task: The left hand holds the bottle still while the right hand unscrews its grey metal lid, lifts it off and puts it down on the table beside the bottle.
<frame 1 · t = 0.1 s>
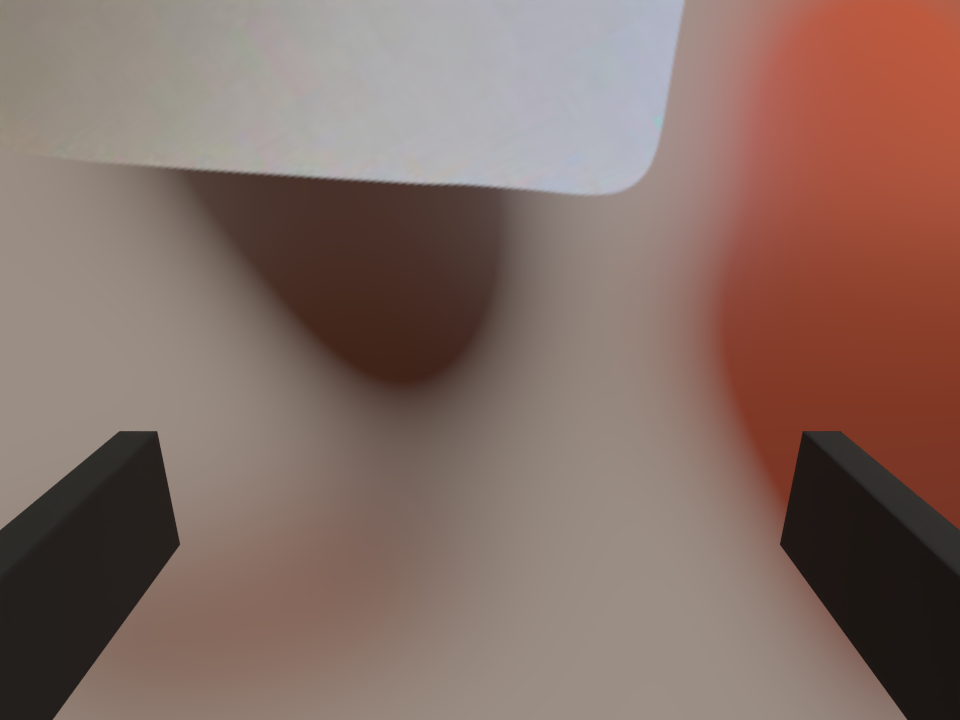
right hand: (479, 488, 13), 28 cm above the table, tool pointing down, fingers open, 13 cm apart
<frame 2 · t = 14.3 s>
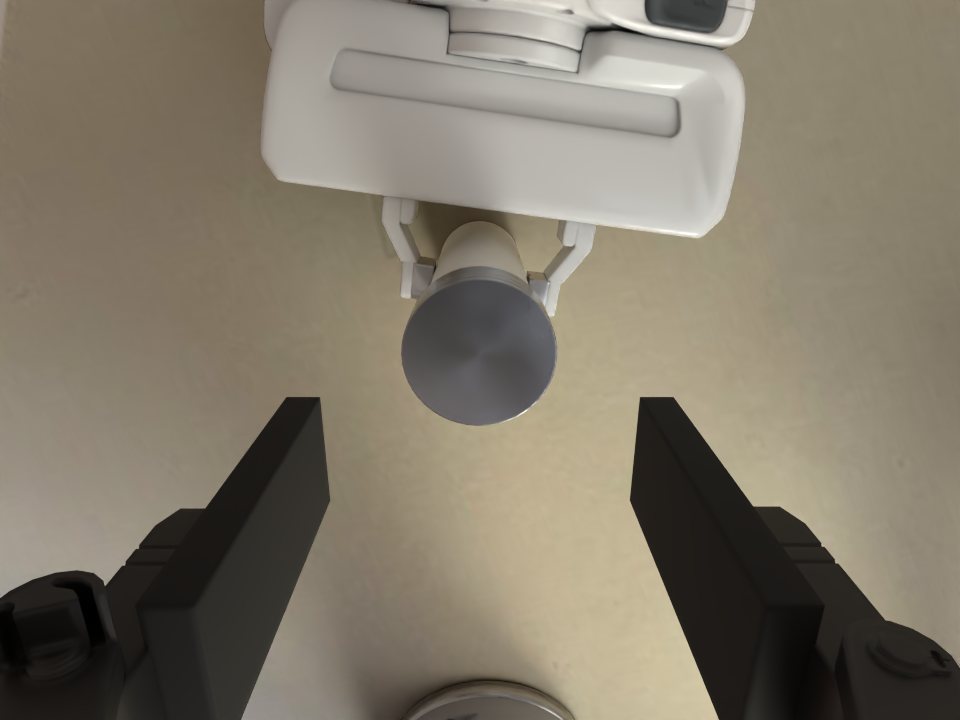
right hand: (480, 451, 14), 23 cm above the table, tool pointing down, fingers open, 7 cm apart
left hand: (478, 304, 30), fingers closed on bottle, 4 cm apart
bottle: (479, 260, 36), on the table, touching left hand
lid: (479, 352, 21), point 16 cm above the table, screwed on, not yet turned
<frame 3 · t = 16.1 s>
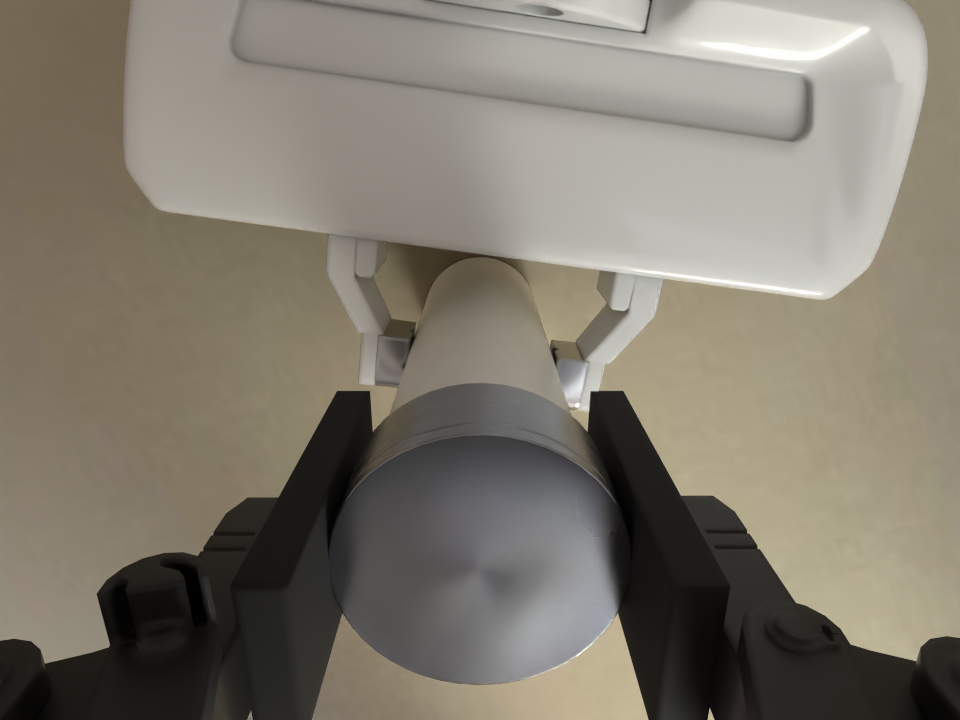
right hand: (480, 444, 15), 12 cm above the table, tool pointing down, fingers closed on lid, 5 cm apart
left hand: (477, 392, 20), fingers closed on bottle, 4 cm apart
bottle: (480, 311, 26), on the table, touching left hand
lid: (480, 557, 11), point 16 cm above the table, screwed on, not yet turned, touching right hand
when the right hand's fingers open (12 cm above the table, at t = 17.4 s): lid stays where it is, point 16 cm above the table.
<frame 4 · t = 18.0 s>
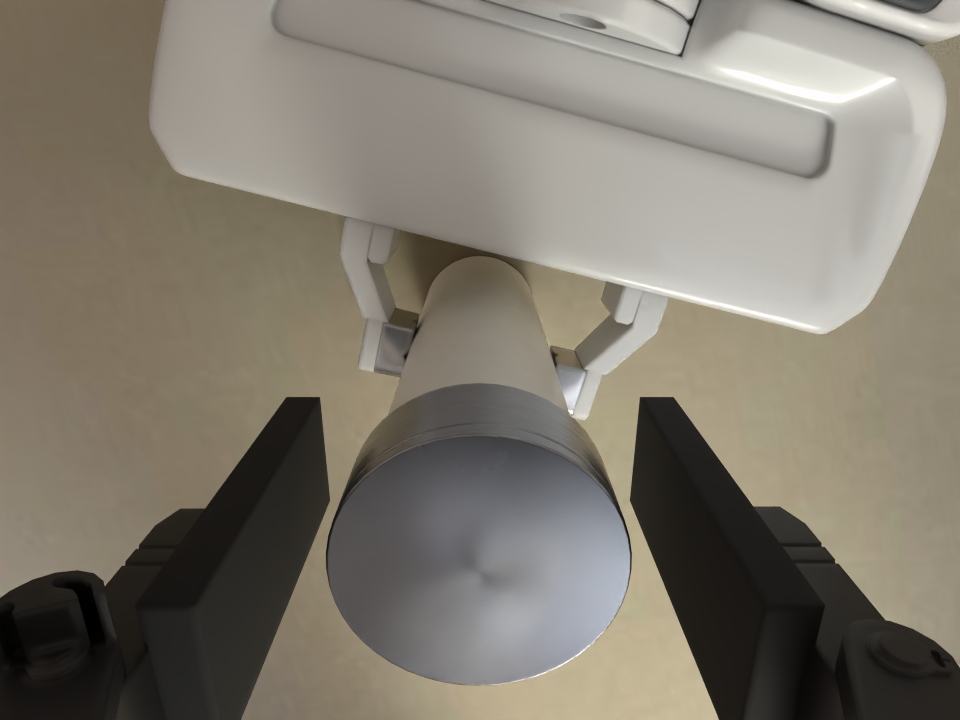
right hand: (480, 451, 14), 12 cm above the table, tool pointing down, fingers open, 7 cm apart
left hand: (474, 389, 20), fingers closed on bottle, 4 cm apart
bottle: (479, 309, 26), on the table, touching left hand
lid: (478, 557, 11), point 16 cm above the table, turned 68° so far, risen 0.2 cm, still on its thread
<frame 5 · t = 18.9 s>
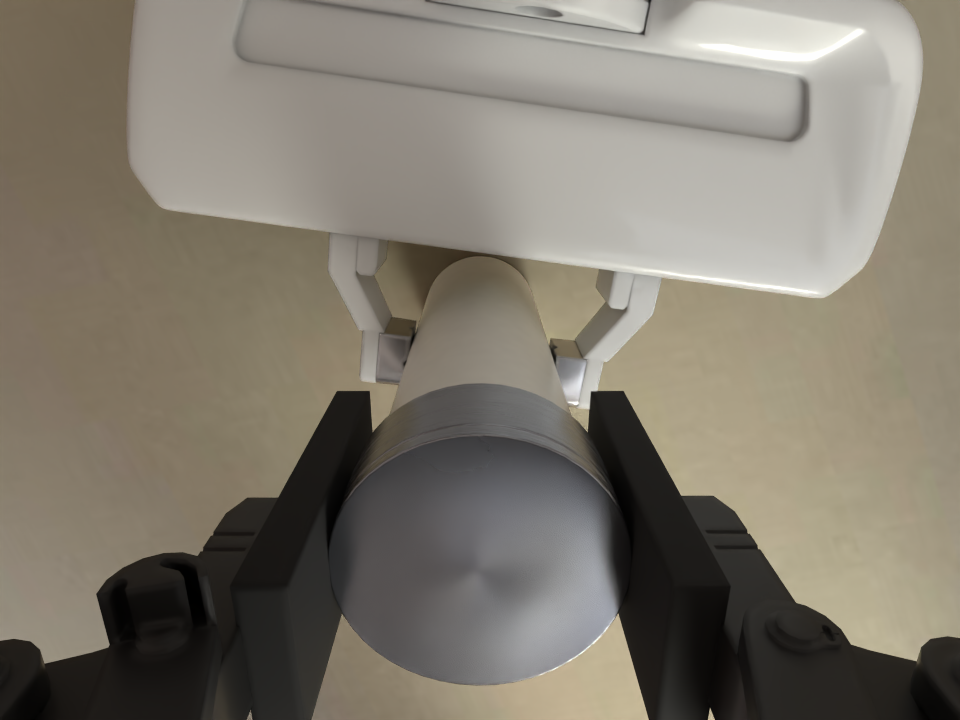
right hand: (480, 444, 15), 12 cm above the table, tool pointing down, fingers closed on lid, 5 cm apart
left hand: (477, 389, 20), fingers closed on bottle, 4 cm apart
bottle: (480, 309, 26), on the table, touching left hand
lid: (480, 557, 11), point 16 cm above the table, turned 68° so far, risen 0.2 cm, still on its thread, touching right hand
when the right hand's fingers open (0 cm above the table, at t = 24.9 s): lid drops 2 cm, point 2 cm above the table.
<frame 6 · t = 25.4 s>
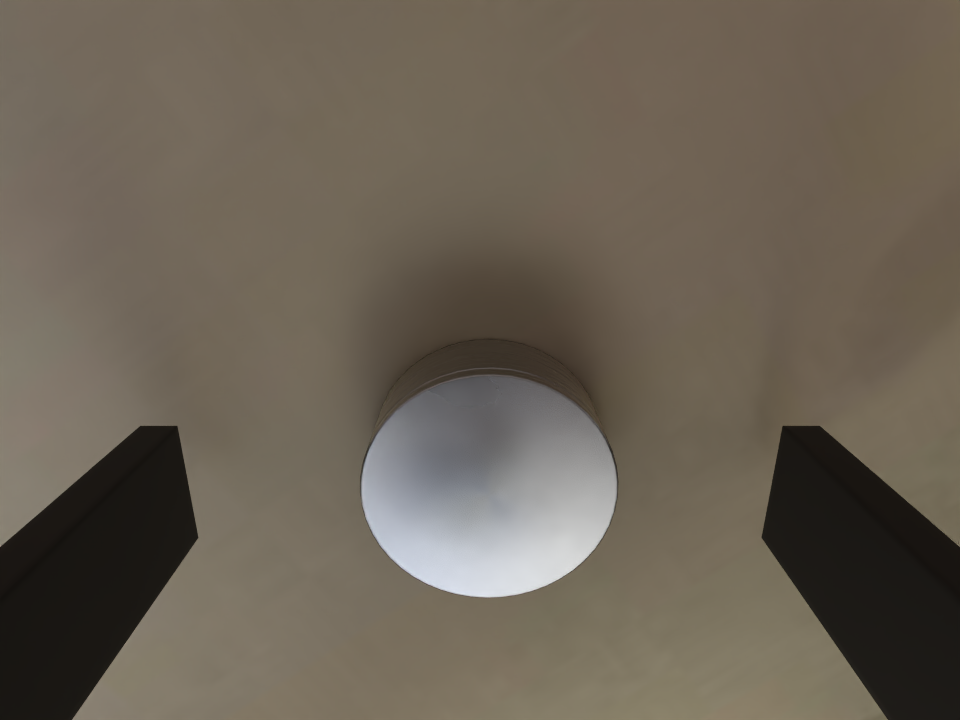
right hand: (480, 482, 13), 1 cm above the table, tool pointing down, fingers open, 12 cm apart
lid: (488, 485, 13), point 2 cm above the table, off its thread
when the left hand's fingers open (6 cm above the table, at t = 26.0 s): bottle stays where it is, on the table.
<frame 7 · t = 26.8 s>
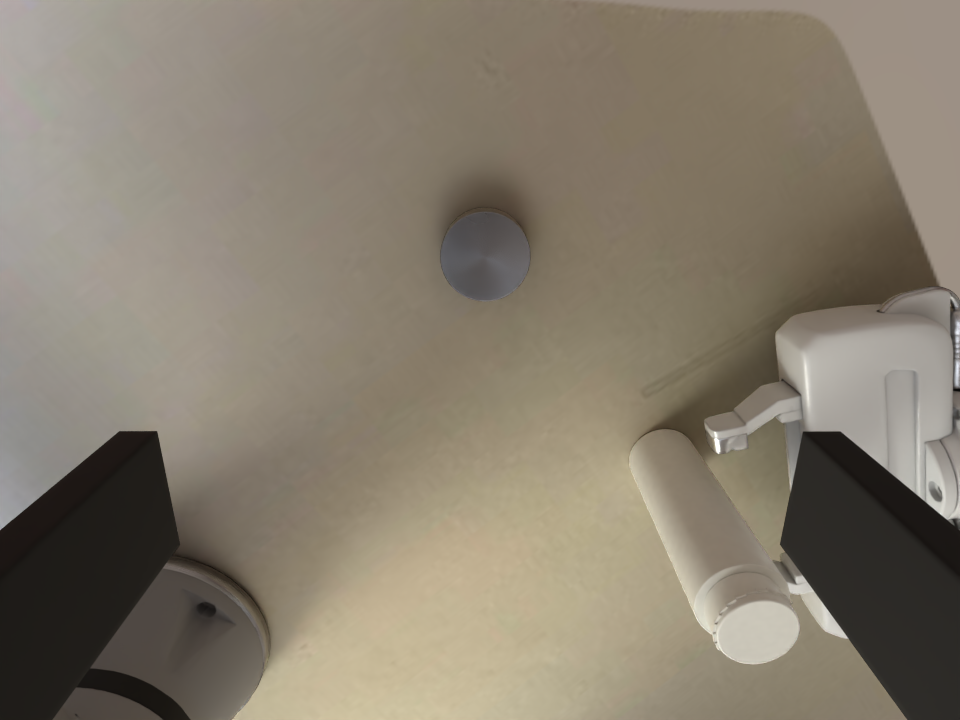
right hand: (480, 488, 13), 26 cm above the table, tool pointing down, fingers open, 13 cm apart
left hand: (718, 506, 36), fingers open, 8 cm apart
bottle: (661, 458, 42), on the table
lid: (485, 256, 36), point 2 cm above the table, off its thread
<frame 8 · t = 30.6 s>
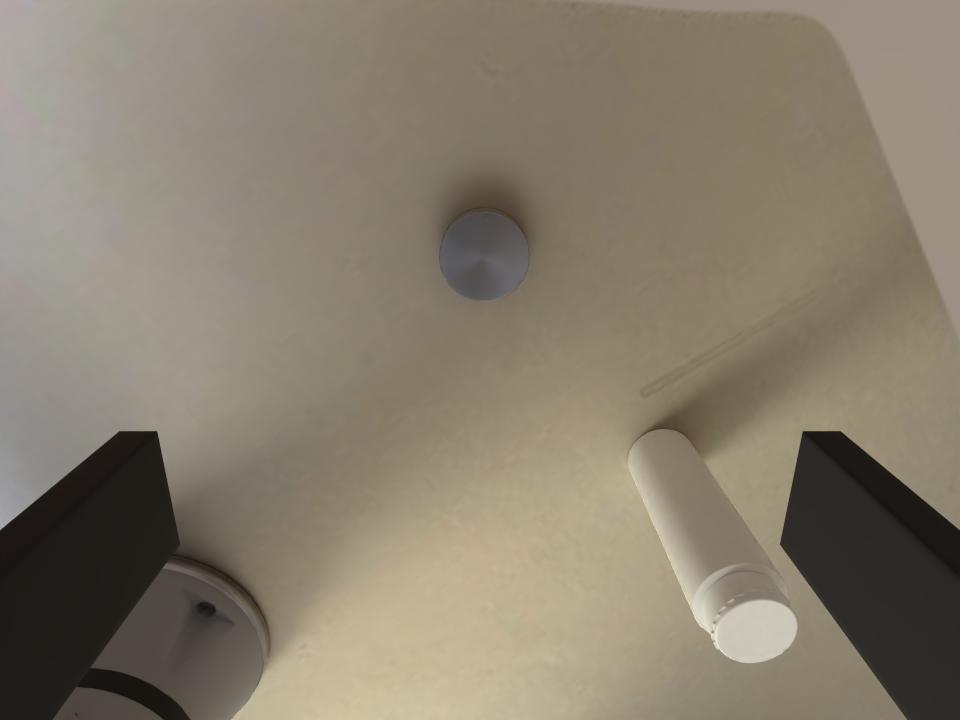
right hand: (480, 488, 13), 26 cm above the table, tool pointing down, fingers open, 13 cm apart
bottle: (660, 458, 42), on the table
lid: (484, 256, 36), point 2 cm above the table, off its thread
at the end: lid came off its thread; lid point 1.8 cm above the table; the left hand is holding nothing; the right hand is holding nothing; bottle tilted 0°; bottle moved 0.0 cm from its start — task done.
